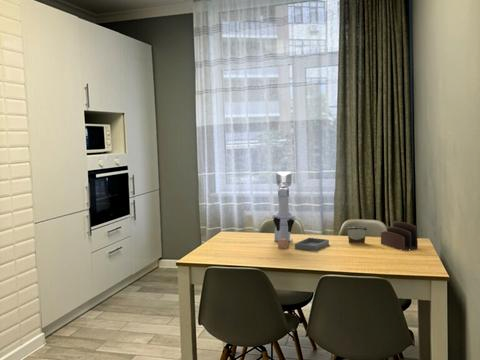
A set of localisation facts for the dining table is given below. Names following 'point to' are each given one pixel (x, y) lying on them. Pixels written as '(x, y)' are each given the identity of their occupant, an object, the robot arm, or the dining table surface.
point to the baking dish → (311, 244)
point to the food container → (356, 234)
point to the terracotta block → (282, 243)
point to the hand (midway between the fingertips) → (283, 231)
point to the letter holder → (400, 236)
